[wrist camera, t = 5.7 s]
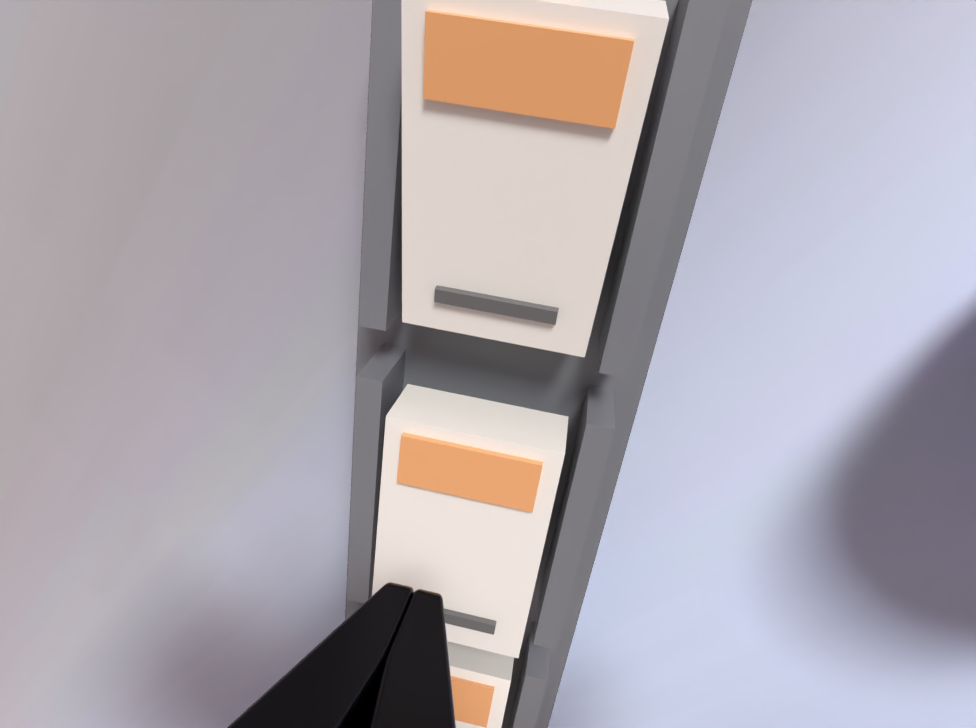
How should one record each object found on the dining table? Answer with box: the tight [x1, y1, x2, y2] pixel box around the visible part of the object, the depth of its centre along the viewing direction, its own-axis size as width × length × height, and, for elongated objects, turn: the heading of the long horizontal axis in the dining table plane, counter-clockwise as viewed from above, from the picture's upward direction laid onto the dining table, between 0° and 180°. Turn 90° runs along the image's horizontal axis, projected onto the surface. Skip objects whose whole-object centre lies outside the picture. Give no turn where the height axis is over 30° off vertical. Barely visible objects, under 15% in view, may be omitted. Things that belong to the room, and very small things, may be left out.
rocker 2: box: [372, 384, 568, 658], centre depth 14 cm, size 6×4×2 cm, turn 172°
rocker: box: [401, 0, 669, 357], centre depth 11 cm, size 6×4×2 cm, turn 173°
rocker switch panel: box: [345, 0, 752, 728], centre depth 18 cm, size 30×7×6 cm, turn 172°
